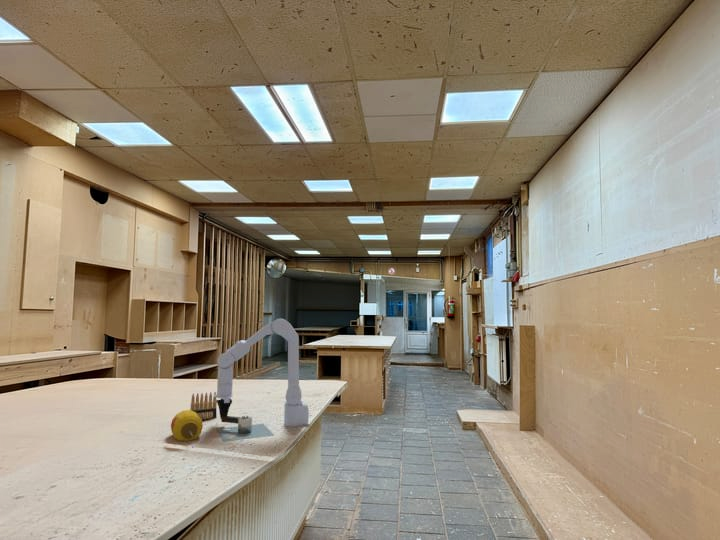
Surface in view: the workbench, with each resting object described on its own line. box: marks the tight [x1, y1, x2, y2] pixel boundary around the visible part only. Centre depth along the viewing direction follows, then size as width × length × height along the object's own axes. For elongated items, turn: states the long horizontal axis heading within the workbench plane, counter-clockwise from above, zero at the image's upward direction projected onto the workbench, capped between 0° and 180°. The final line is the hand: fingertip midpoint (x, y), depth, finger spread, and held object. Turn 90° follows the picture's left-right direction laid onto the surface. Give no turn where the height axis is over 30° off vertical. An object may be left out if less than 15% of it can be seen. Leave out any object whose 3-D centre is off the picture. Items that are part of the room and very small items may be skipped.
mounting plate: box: [216, 423, 275, 443], centre depth 151 cm, size 18×18×1 cm
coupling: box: [220, 415, 253, 433], centre depth 153 cm, size 12×5×5 cm, turn 71°
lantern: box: [170, 409, 203, 442], centre depth 146 cm, size 10×10×30 cm
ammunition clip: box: [189, 391, 218, 423], centre depth 172 cm, size 11×2×12 cm, turn 119°
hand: (223, 418), depth 160 cm, fingers closed
